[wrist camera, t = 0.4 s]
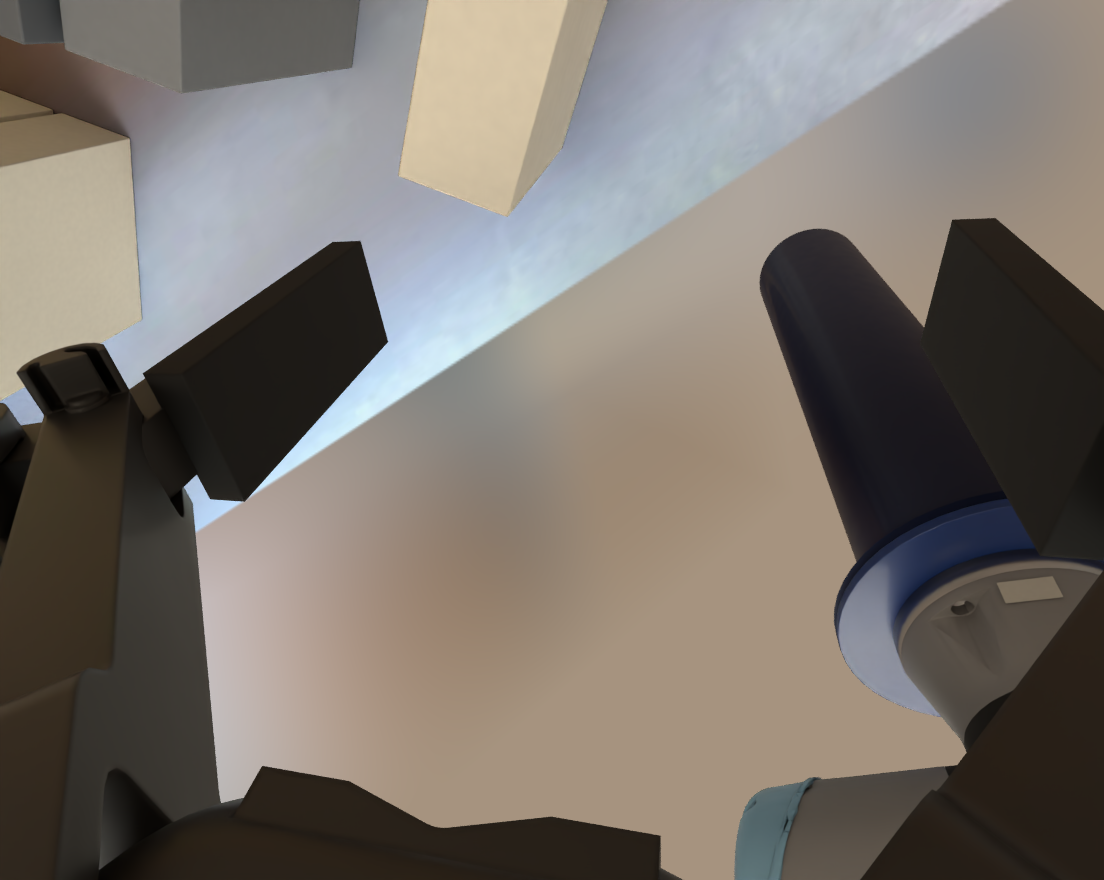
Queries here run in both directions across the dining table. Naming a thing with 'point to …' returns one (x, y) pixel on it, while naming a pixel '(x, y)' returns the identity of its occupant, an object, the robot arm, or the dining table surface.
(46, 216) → the white books
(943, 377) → the robot arm
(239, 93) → the dining table surface
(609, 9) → the dining table surface
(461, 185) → the white book
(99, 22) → the grey books
